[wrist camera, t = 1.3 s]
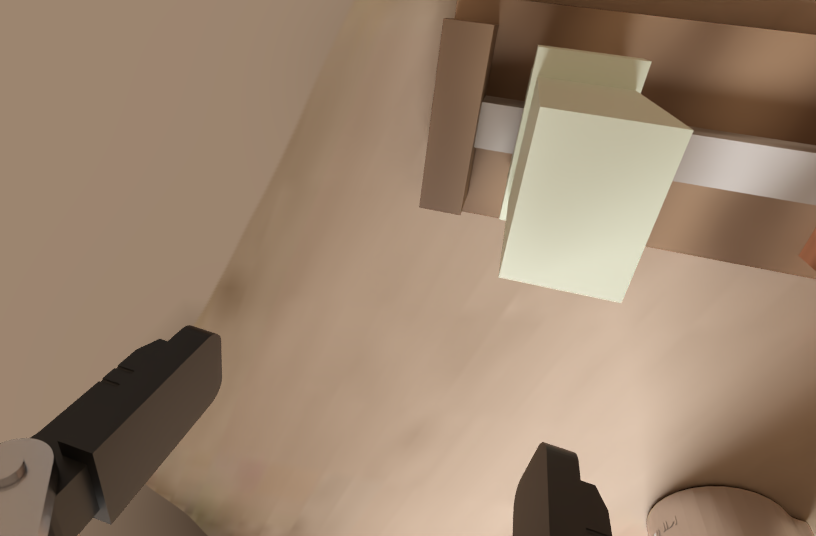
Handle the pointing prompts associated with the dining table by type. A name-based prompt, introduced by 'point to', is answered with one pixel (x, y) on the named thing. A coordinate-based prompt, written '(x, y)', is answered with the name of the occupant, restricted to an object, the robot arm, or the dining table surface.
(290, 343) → the dining table surface
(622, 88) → the slider
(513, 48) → the track
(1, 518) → the robot arm
